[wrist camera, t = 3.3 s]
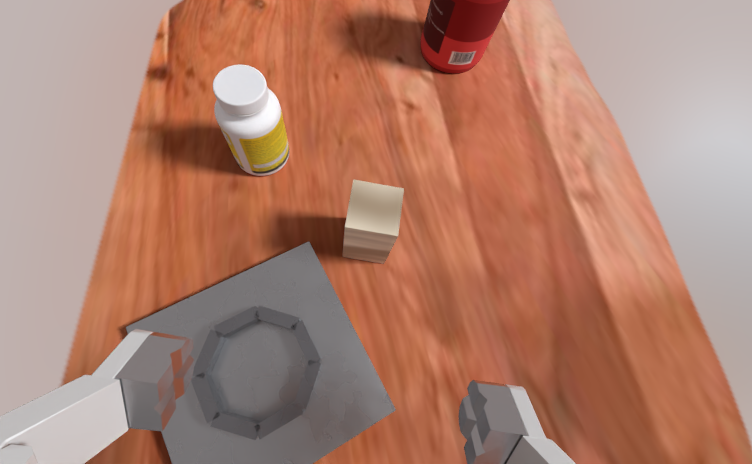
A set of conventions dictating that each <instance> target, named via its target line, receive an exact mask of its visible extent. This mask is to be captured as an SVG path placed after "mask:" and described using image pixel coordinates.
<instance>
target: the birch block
mask: <svg viewBox="0 0 752 464" xmlns="http://www.w3.org/2000/svg"><path fill="white" fill-rule="evenodd" d="M403 192H404V189H403V188H398V187H392V186H387V185H381V184H375V183H370V182H364V181H359V180H353V185H352V190H351V196H350V201H349V207H348V212H347V218H346V223H345V230H344V242H343V254H342V257H346V258H352V259H358V260H364V261H370V262H376V263H382V264H384V263H385V261H386V259H387V257H388V255H389V253H390V251H391V249H392V247H393V245H394V243H395V241H396V239H397V237H398V232H399V224H400V216H401V208H402V200H403Z"/></svg>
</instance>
